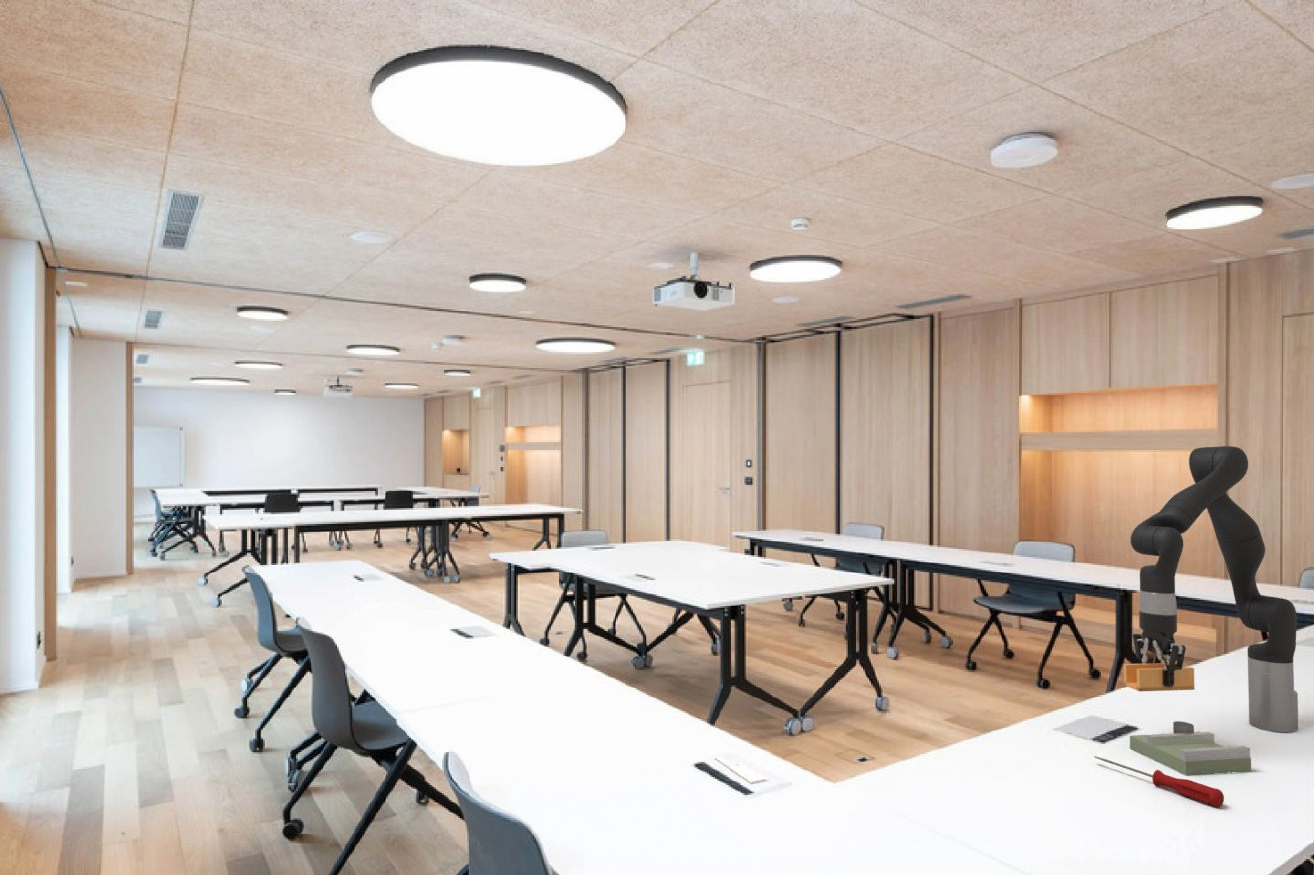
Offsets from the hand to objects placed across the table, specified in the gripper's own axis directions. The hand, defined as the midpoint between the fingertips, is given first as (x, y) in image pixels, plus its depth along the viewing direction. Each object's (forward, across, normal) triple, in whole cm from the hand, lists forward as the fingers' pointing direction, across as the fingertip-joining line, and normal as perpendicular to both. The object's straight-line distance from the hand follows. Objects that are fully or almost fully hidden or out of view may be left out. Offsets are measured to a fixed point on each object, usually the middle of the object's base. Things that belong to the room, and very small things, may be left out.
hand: (1158, 682), depth 181 cm
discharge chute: (+1, 0, 0) cm, 1 cm away
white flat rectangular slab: (+16, -2, +101) cm, 102 cm away
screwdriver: (+16, -18, +17) cm, 30 cm away
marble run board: (+15, -7, -1) cm, 17 cm away
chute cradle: (+12, -9, -2) cm, 16 cm away
